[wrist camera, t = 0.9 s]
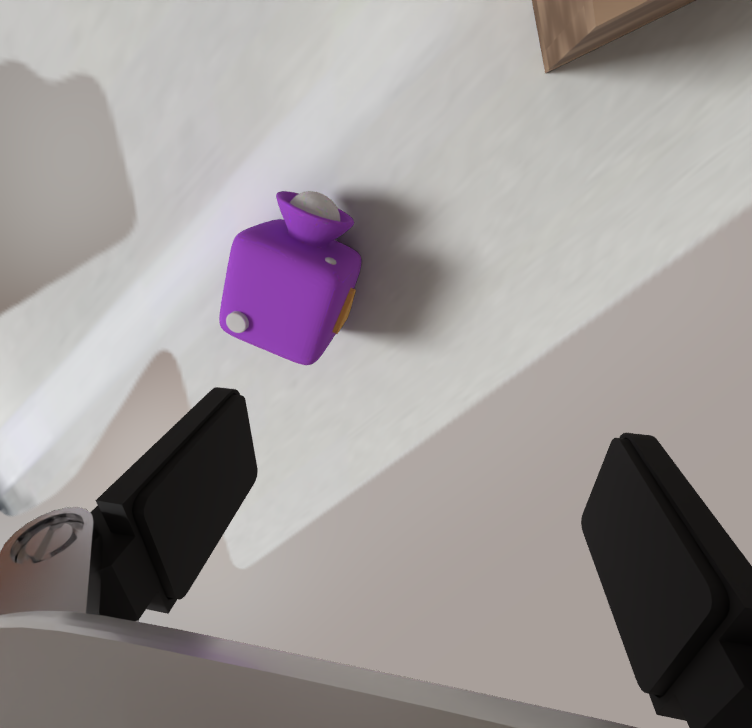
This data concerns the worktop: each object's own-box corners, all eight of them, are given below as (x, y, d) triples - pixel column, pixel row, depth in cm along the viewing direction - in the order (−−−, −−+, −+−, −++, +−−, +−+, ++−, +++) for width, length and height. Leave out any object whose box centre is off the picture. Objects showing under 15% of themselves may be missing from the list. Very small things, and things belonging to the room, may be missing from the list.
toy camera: (378, 198, 34) (354, 210, 25) (356, 335, 40) (331, 382, 32) (263, 174, 34) (201, 178, 26) (260, 312, 41) (209, 352, 32)
